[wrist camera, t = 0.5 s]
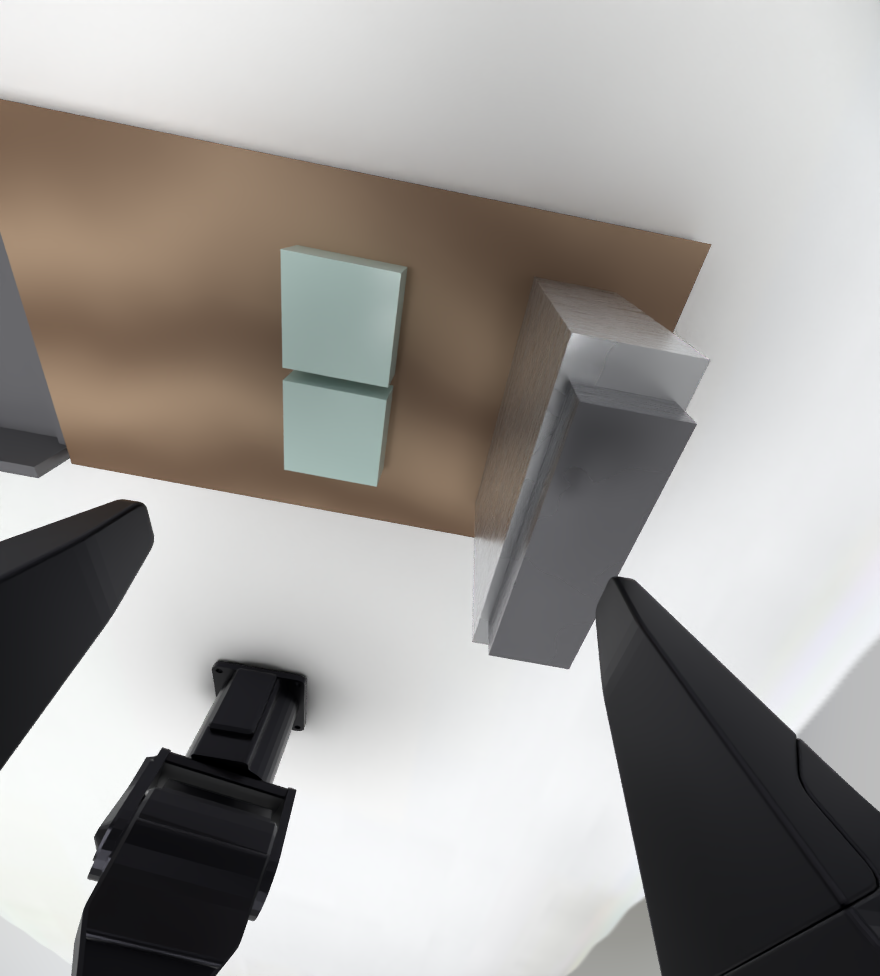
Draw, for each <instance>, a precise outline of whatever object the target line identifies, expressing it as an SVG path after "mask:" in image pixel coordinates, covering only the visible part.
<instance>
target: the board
mask: <svg viewBox="0 0 880 976" xmlns="http://www.w3.org/2000/svg"><path fill="white" fill-rule="evenodd" d="M0 233H1V236H2V239H3V242H4V246H5V249H6V252H7V255H8V259H9V262H10V265H11V268H12V272H13V275H14V278H15V281H16V285H17V288H18V291H19V294H20V297H21V301H22V304H23V307H24V310H25V314H26V317H27V320H28V323H29V327H30V330H31V333H32V336H33V340H34V343H35V346H36V349H37V353H38V356H39V359H40V362H41V365H42V369H43V372H44V375H45V378H46V382H47V385H48V388H49V391H50V395H51V398H52V401H53V404H54V408H55V411H56V414H57V417H58V421H59V424H60V427H61V430H62V433H63V437H64V440H65V443H66V446H67V450H68V453H69V456H70V459H71V463H72V464H76V465H82V466H87V467H93V468H98V469H104V470H109V471H114V472H120V473H125V474H131V475H136V476H142V477H147V478H153V479H158V480H163V481H169V482H174V483H180V484H185V485H191V486H196V487H202V488H207V489H212V490H218V491H223V492H229V493H234V494H240V495H245V496H251V497H256V498H261V499H267V500H272V501H278V502H283V503H289V504H294V505H300V506H305V507H310V508H316V509H321V510H327V511H332V512H338V513H343V514H349V515H354V516H360V517H365V518H370V519H376V520H381V521H387V522H392V523H398V524H403V525H409V526H414V527H419V528H425V529H430V530H436V531H441V532H447V533H452V534H458V535H463V536H468V537H474V536H475V502H476V499H477V495H478V491H479V487H480V483H481V479H482V475H483V472H484V468H485V464H486V460H487V456H488V452H489V449H490V445H491V441H492V437H493V433H494V429H495V426H496V422H497V418H498V414H499V410H500V406H501V402H502V399H503V395H504V391H505V387H506V383H507V379H508V376H509V372H510V368H511V364H512V360H513V356H514V352H515V349H516V345H517V341H518V337H519V333H520V329H521V326H522V322H523V318H524V314H525V310H526V306H527V302H528V299H529V295H530V291H531V287H532V283H533V279H534V277H539V278H544V279H549V280H554V281H559V282H564V283H569V284H574V285H579V286H584V287H589V288H594V289H599V290H604V291H609V292H614V293H617V294H619V295H620V296H621V297H623V298H624V299H626V300H627V301H628V302H630V303H631V304H633V305H634V306H635V307H637V308H638V309H640V310H641V311H642V312H644V313H645V314H647V315H648V316H649V317H651V318H652V319H654V320H655V321H657V322H658V323H659V324H661V325H662V326H664V327H665V328H666V329H668V330H669V331H671V332H672V333H673V331H674V329H675V326H676V324H677V322H678V319H679V317H680V315H681V313H682V310H683V308H684V306H685V304H686V301H687V299H688V297H689V294H690V292H691V290H692V288H693V285H694V283H695V281H696V278H697V276H698V274H699V272H700V269H701V267H702V265H703V262H704V260H705V258H706V256H707V253H708V251H709V249H710V247H711V244H707V243H702V242H697V241H692V240H687V239H682V238H678V237H673V236H668V235H663V234H658V233H653V232H648V231H643V230H638V229H634V228H629V227H624V226H619V225H614V224H609V223H604V222H599V221H594V220H589V219H585V218H580V217H575V216H570V215H565V214H560V213H555V212H550V211H545V210H541V209H536V208H531V207H526V206H521V205H516V204H511V203H506V202H501V201H496V200H492V199H487V198H482V197H477V196H472V195H467V194H462V193H457V192H452V191H447V190H443V189H438V188H433V187H428V186H423V185H418V184H413V183H408V182H403V181H399V180H394V179H389V178H384V177H379V176H374V175H369V174H364V173H359V172H354V171H350V170H345V169H340V168H335V167H330V166H325V165H320V164H315V163H310V162H306V161H301V160H296V159H291V158H286V157H281V156H276V155H271V154H266V153H261V152H257V151H252V150H247V149H242V148H237V147H232V146H227V145H222V144H217V143H213V142H208V141H203V140H198V139H193V138H188V137H183V136H178V135H173V134H168V133H164V132H159V131H154V130H149V129H144V128H139V127H134V126H129V125H124V124H119V123H115V122H110V121H105V120H100V119H95V118H90V117H85V116H80V115H75V114H71V113H66V112H61V111H56V110H51V109H46V108H41V107H36V106H31V105H26V104H22V103H17V102H12V101H7V100H2V99H0ZM295 245H300V246H305V247H310V248H315V249H320V250H325V251H330V252H335V253H340V254H345V255H350V256H356V257H361V258H366V259H371V260H376V261H381V262H386V263H391V264H396V265H401V266H406V267H408V268H407V277H406V285H405V293H404V302H403V310H402V318H401V326H400V335H399V343H398V351H397V360H396V368H395V375H394V377H393V379H392V381H391V383H390V385H393V393H392V401H391V410H390V418H389V426H388V434H387V443H386V451H385V459H384V468H383V471H382V474H381V476H380V479H379V482H378V485H377V487H375V486H370V485H365V484H359V483H354V482H349V481H343V480H338V479H332V478H327V477H322V476H316V475H311V474H305V473H300V472H295V471H289V470H284V428H283V380H284V379H285V378H286V377H287V376H288V375H289V374H290V373H291V372H292V371H293V369H287V368H282V310H281V251H280V249H283V248H287V247H291V246H295Z"/></svg>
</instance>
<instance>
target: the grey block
mask: <svg viewBox="0 0 880 976" xmlns="http://www.w3.org/2000/svg"><path fill="white" fill-rule="evenodd" d="M709 362H710V359H708V358H707V357H706V356H704V355H703V354H701V353H700V352H699V351H697V350H696V349H694V348H693V347H692V346H690V345H689V344H687V343H686V342H685V341H683V340H682V339H680V338H679V337H678V336H676V335H675V334H673V333H672V332H671V331H669V330H668V329H666V328H665V327H664V326H662V325H661V324H659V323H658V322H657V321H655V320H654V319H652V318H651V317H649V316H648V315H647V314H645V313H644V312H642V311H641V310H640V309H638V308H637V307H635V306H634V305H633V304H631V303H630V302H628V301H627V300H626V299H624V298H623V297H621V296H620V295H619V294H617V293H614V292H609V291H604V290H599V289H594V288H589V287H584V286H579V285H574V284H569V283H564V282H559V281H554V280H549V279H544V278H539V277H534V279H533V283H532V287H531V291H530V295H529V299H528V302H527V306H526V310H525V314H524V318H523V322H522V326H521V329H520V333H519V337H518V341H517V345H516V349H515V352H514V356H513V360H512V364H511V368H510V372H509V376H508V379H507V383H506V387H505V391H504V395H503V399H502V402H501V406H500V410H499V414H498V418H497V422H496V426H495V429H494V433H493V437H492V441H491V445H490V449H489V452H488V456H487V460H486V464H485V468H484V472H483V475H482V479H481V483H480V487H479V491H478V495H477V499H476V502H475V536H474V584H473V633H472V642H476V643H482V644H487V645H489V655H491V656H497V657H502V658H508V659H514V660H519V661H525V662H531V663H536V664H542V665H548V666H553V667H559V668H565V669H569V668H570V666H571V664H572V662H573V660H574V658H575V656H576V655H577V653H578V651H579V649H580V647H581V645H582V643H583V641H584V639H585V637H586V635H587V633H588V632H589V630H590V628H591V626H592V624H593V622H594V620H595V618H596V608H597V604H598V602H599V600H600V598H601V596H602V593H603V591H604V589H605V587H606V585H607V583H608V581H609V579H610V578H611V577H614V576H618V574H619V572H620V570H621V568H622V566H623V565H624V563H625V561H626V559H627V557H628V555H629V553H630V551H631V549H632V547H633V545H634V543H635V542H636V540H637V538H638V536H639V534H640V532H641V530H642V528H643V526H644V524H645V522H646V521H647V519H648V517H649V515H650V513H651V511H652V509H653V507H654V505H655V503H656V501H657V499H658V498H659V496H660V494H661V492H662V490H663V488H664V486H665V484H666V482H667V480H668V478H669V476H670V475H671V473H672V471H673V469H674V467H675V465H676V463H677V461H678V459H679V457H680V455H681V453H682V452H683V450H684V448H685V446H686V444H687V442H688V440H689V438H690V436H691V434H692V432H693V431H694V429H695V427H696V425H697V424H696V423H695V421H694V420H693V419H692V418H691V417H690V416H689V415H688V414H687V413H686V412H685V410H686V408H687V406H688V404H689V402H690V400H691V398H692V396H693V394H694V392H695V390H696V388H697V386H698V384H699V382H700V380H701V378H702V376H703V374H704V372H705V370H706V368H707V366H708V364H709Z"/></svg>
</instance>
